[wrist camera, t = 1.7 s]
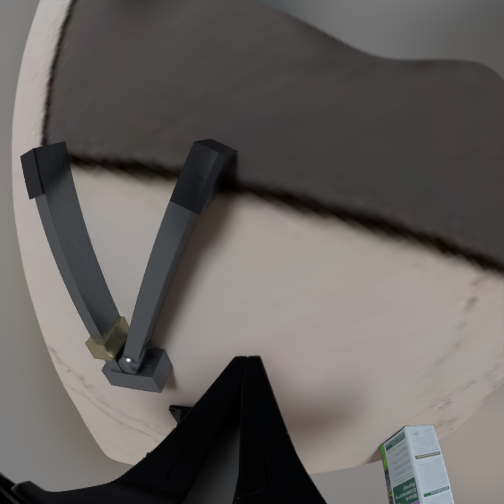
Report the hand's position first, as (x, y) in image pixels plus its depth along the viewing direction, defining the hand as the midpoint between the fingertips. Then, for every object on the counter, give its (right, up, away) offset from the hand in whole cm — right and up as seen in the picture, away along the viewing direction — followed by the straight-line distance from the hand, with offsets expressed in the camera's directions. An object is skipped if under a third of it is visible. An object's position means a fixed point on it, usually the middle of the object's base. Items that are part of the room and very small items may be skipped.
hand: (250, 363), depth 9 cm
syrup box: (+21, -21, +18) cm, 34 cm away
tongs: (-11, +2, +10) cm, 15 cm away
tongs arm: (-5, +3, +9) cm, 11 cm away
